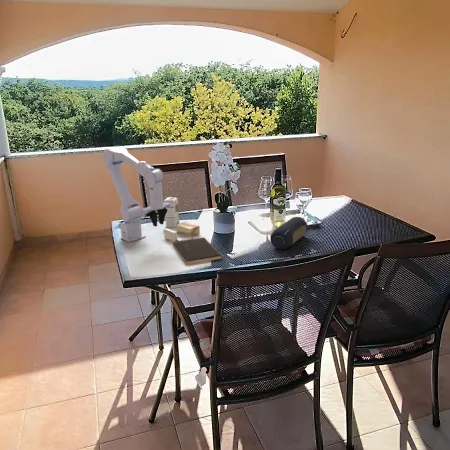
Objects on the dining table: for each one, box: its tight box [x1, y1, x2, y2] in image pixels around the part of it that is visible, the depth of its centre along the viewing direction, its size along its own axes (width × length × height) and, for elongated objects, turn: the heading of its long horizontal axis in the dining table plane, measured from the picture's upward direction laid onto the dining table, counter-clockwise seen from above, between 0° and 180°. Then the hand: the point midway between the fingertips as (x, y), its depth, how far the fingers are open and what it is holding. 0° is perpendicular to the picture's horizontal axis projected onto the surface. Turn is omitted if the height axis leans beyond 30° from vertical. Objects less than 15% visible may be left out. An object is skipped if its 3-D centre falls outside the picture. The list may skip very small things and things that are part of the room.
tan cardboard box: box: [176, 221, 201, 241], centre depth 209 cm, size 16×12×4 cm
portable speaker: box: [270, 216, 308, 250], centre depth 199 cm, size 25×10×10 cm, turn 148°
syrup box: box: [163, 196, 180, 228], centre depth 223 cm, size 6×6×14 cm
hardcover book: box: [171, 237, 223, 265], centre depth 191 cm, size 16×23×2 cm
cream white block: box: [163, 227, 180, 242], centre depth 204 cm, size 4×10×4 cm, turn 46°
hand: (158, 224), depth 198 cm, fingers open, 3 cm apart
